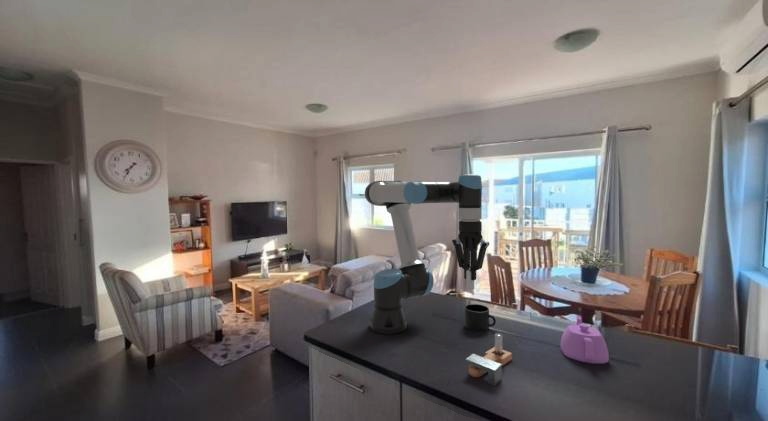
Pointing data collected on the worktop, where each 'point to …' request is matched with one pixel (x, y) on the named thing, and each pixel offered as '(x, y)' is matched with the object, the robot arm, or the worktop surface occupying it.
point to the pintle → (498, 344)
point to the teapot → (584, 343)
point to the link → (492, 356)
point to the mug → (477, 318)
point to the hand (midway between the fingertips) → (470, 288)
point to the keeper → (487, 367)
